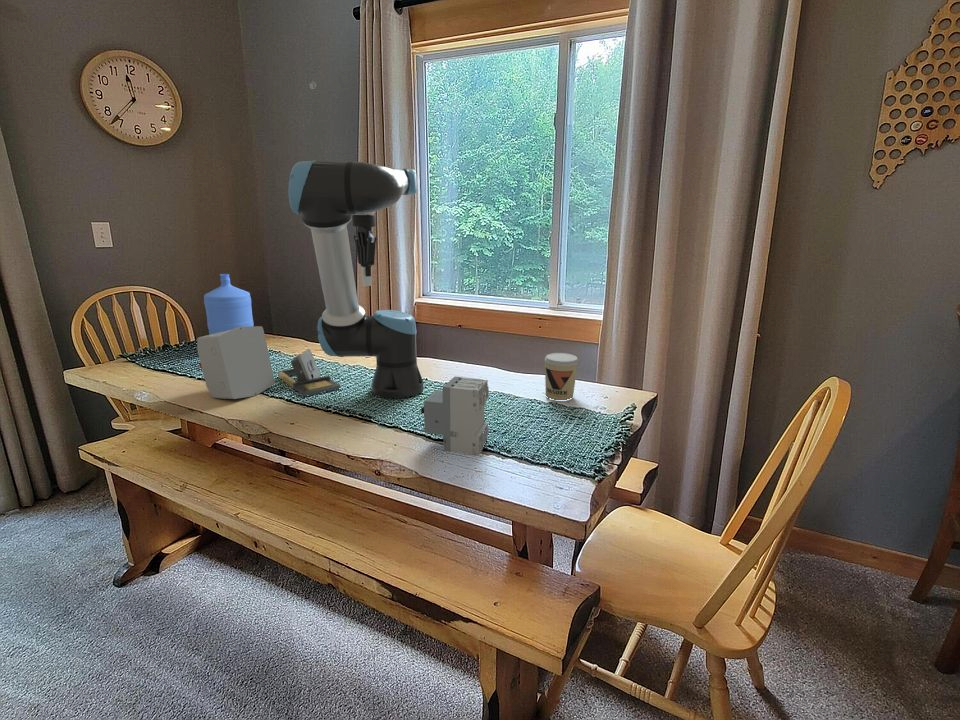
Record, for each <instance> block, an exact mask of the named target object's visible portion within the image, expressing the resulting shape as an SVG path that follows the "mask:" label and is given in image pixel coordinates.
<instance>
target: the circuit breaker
mask: <svg viewBox="0 0 960 720" xmlns="http://www.w3.org/2000/svg"><path fill="white" fill-rule="evenodd" d="M488 381H489V380H488V379H482V378H475V377H474V378H473V377H467V376H465V377H464V376H453V378H451V379H450V380H449V381H448V382H446V383H445V384H444V385H443V386H442V389H436V390H434V392H433V393H431V394H430V395H429V396H428V397H427V398H426V399H425V400H424V401H423V407H421V409H420V410H421V412H420V414H422V415H423V420H424V421H423V422H424V423H423V425H424V428H423V429H424V433H425V434H427V433H428V434H434V435H439V436H440V435H441V436H442V437H443V438H442V440H443V442H442V446H443V447H442V449H443V451H446V452H451V453H452V452H453V453H459V454H464V455H465V454H466V455H472V456H473V455H476V456H479V455H480V454H481V453H482V451H483V449H484V448H483V444H484V442H486V440H488V437H489V423H488V422H486V421H485V405H486V404H487V400H488V399H489V397H490V396H489V395H490V394H489V391H490V390H489V386H488Z"/></svg>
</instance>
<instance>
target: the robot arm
mask: <svg viewBox="0 0 960 720" xmlns="http://www.w3.org/2000/svg"><path fill="white" fill-rule="evenodd" d="M417 181H418V179H417V172H416V170H415V169H413V168H390V167H388V166H384V165H379V164H375V163H370V162H365V161H335V160H334V161H331V160H329V161H328V160H327V161H326V160H320V161H319V160H314V159H312V160H307V161H298V162H296V163H295V164H294V165H293V166H292V167H291V171H290V174H289V180H288V190H287V191H288V203H289V206H290V209H291V212H292V213H294V214H296V215H300V216H301V221H302V223H303V225H305V226H306V227H307V228H309V229H310V232H311V237H312V242H313V247H314V253H315V258H316V263H317V268H318V273H319V278H320V283H321V284H320V285H321V289H322V294H323V300H324V305H325V310H324V311H322V313H321V316H320V317H319V319H318V322H317V327H316V328H317V332H318V333H317V339H318V342H319V343H318V344H319V346H320V348H321V350H322V351H323V352H324V354H326V355H327V356H330V357H338V358H339V357H340V358H344V357H346V358H347V357H349V358H350V357H375V359H376V368H375V370H374V374H373V377H372V381H371V393H372V394H373V395H374V394H375V395H374V396H376V395H377V396H376V397H378V396H380V397H379V398H382V397H384V399H391V398H398V399H406V398H405V397H407V398H411V397H410V396H412V397H414V395H415V396H417V395H416V394H418V395H420V394H421V393H423V391H424V380H423V378H422V375H421V371H420V368H419V366H418V359H417V358H418V357H417V355H418V354H417V332H418V331H417V326H416V324H417V323H416V319H415V317H414V316H413V315H411V314H410V313H407V312H404V311H399V310H392V309H384V310H383V309H378V310H376V311H374V313H373V315H366V311H365V308H364V307H363V306H361V305H360V304H359V302H358V301H359V299H358V294H357V286H356V280H355V274H354V267H353V266H354V265H353V260H352V254H351V248H350V247H351V245H350V241H349V239H350V238H349V232H348V227H347V226H348V225H349V223H351V222H352V226H353V227H355V228H356V227H357V228H356V234H354V235H353V239H354V244H355V250H356V257H357V262H358V264H359V265H360V267H361V279H362V280H361V282H362V287H370V286H371V287H372V286H373V282H372V266H374V265H375V257H376V256H375V255H376V243H377V239H378V238H377V236H374V235H373V234H374V233H373V228H374V227H376V226H377V224H376V223H377V220H376V215H374V214H375V213H376V212H379V211H383V210H385V209H387V208H390V207H392V206H394V205H395V204H397V202H398V201H399V200H400V198H401V197H402V196H409V195H416V193H417V188H418V187H417V186H418V185H417V183H418V182H417ZM420 392H421V393H420ZM419 393H420V394H419Z"/></svg>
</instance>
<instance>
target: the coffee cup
mask: <svg viewBox="0 0 960 720" xmlns="http://www.w3.org/2000/svg"><path fill="white" fill-rule="evenodd" d="M578 363H579V359H578V357H577V356H576V355H574V354H571V353H565V352H552V353H548V354H546V356H545V357H544V366H545V367H544V371H545V373H544V374H545V377H544V378H545V380H544V381H545V397H546V396H547V397H548V398H551V399H554V400H567V399H570V398H572V397H573V398H574V394H575V393H574V392H575V385H576V377H577V373H578V372H577V370H578ZM547 397H546V398H547ZM548 398H547V399H548ZM573 398H572V399H573Z"/></svg>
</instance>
